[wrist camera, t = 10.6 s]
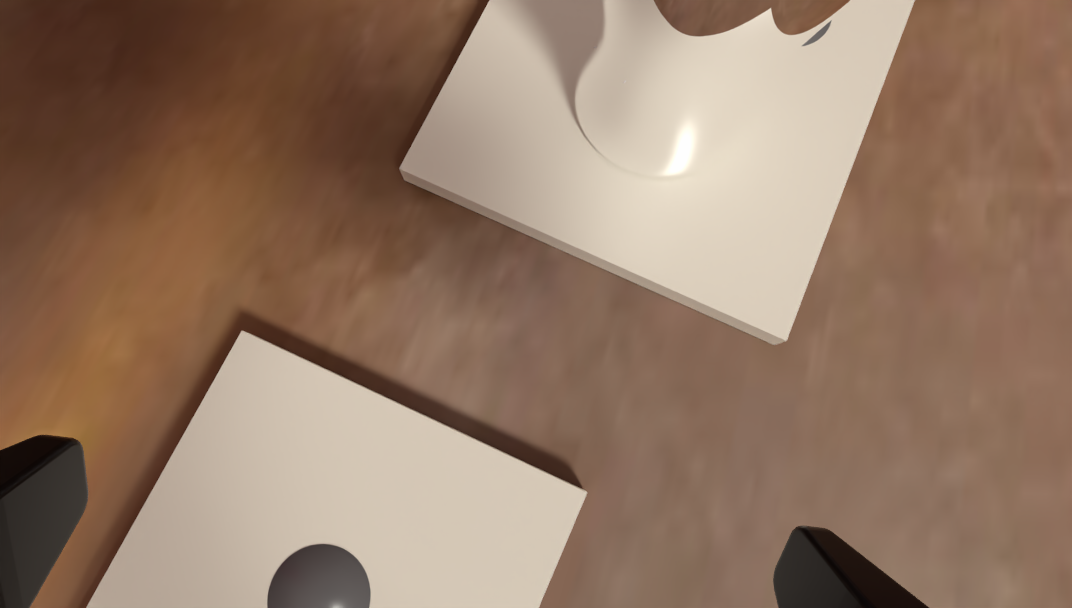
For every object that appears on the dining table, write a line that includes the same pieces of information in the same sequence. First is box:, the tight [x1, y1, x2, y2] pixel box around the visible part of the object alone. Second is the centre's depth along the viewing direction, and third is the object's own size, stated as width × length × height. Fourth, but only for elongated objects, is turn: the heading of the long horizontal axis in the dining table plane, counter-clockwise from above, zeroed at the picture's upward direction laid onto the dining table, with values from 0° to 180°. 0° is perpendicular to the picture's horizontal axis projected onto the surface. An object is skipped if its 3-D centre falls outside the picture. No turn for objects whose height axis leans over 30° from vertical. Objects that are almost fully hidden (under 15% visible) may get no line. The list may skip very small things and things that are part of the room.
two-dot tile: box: [399, 0, 915, 345], centre depth 23 cm, size 14×14×1 cm
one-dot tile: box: [86, 331, 587, 608], centre depth 19 cm, size 12×12×1 cm
